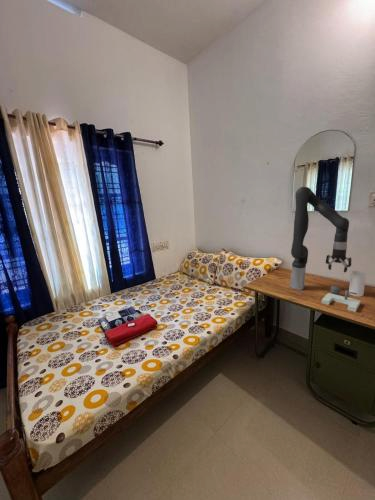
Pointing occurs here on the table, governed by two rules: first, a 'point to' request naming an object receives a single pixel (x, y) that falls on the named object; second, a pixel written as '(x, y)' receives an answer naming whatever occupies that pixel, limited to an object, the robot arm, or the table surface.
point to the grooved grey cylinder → (335, 290)
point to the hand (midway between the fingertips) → (337, 271)
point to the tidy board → (342, 300)
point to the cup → (357, 282)
